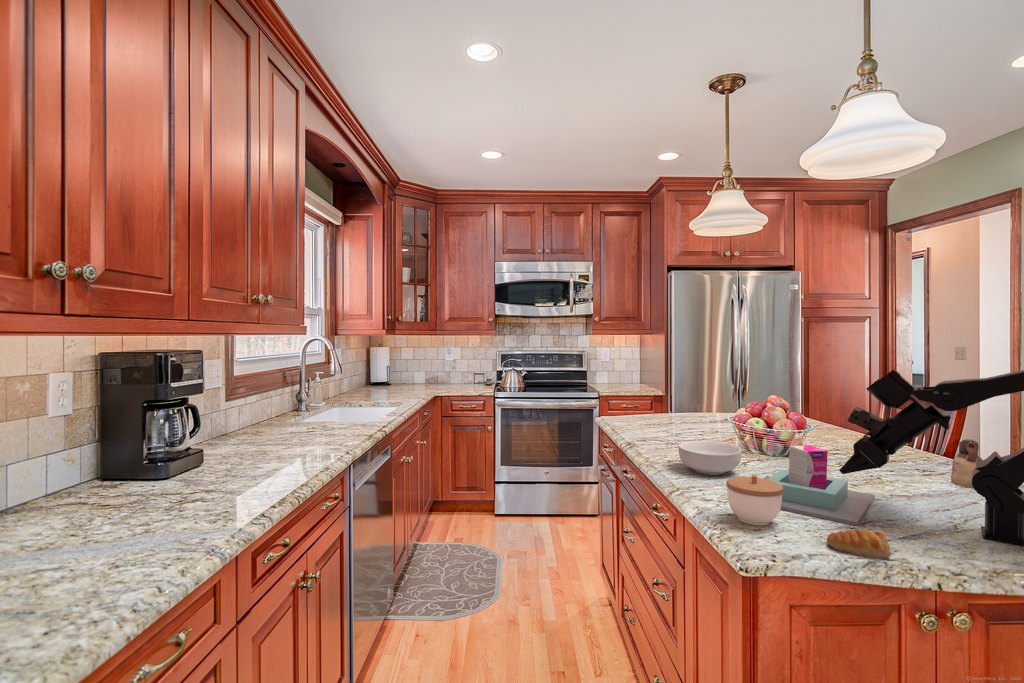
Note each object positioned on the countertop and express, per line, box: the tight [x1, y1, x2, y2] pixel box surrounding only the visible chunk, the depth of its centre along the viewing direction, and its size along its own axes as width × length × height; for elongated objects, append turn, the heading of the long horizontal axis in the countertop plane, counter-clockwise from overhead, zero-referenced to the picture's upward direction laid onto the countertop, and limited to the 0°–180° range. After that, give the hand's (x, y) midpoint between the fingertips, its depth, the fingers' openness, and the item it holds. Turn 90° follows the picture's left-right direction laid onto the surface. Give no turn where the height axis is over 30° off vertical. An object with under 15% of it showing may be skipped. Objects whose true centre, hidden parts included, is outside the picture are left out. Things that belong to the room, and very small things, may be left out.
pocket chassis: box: [762, 469, 876, 527], centre depth 122 cm, size 24×24×4 cm
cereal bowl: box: [678, 440, 742, 476], centre depth 146 cm, size 17×17×7 cm
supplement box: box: [788, 444, 829, 490], centre depth 122 cm, size 6×6×12 cm
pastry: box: [826, 528, 892, 559], centre depth 94 cm, size 9×7×4 cm
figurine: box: [950, 438, 984, 489], centre depth 134 cm, size 7×7×12 cm
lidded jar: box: [726, 474, 783, 526], centre depth 108 cm, size 11×11×9 cm
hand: (844, 468), depth 117 cm, fingers open, 9 cm apart
